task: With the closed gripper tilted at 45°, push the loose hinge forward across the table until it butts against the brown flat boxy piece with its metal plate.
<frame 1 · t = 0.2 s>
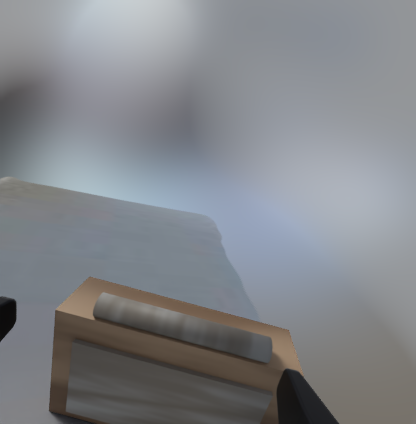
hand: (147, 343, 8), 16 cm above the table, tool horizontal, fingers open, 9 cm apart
brown flat boxy piece: (159, 411, 20), on the table
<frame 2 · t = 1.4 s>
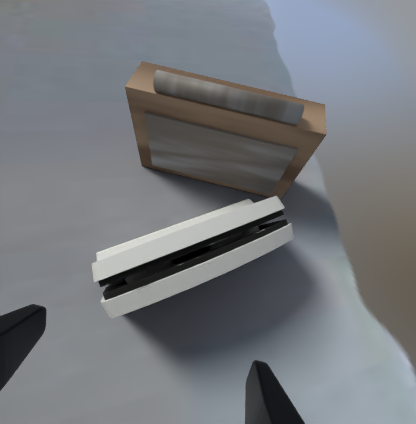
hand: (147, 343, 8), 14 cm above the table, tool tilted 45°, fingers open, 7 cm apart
brown flat boxy piece: (214, 170, 29), on the table
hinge: (192, 259, 23), on the table
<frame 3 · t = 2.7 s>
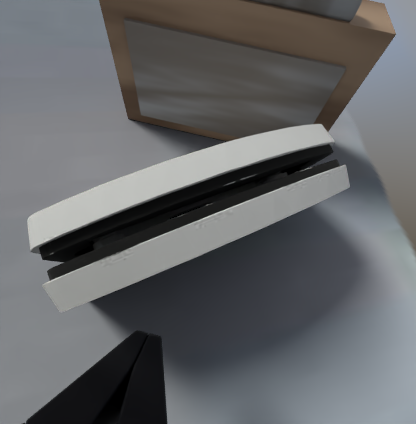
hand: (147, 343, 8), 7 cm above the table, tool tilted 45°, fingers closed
brown flat boxy piece: (221, 124, 22), on the table
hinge: (195, 232, 17), on the table
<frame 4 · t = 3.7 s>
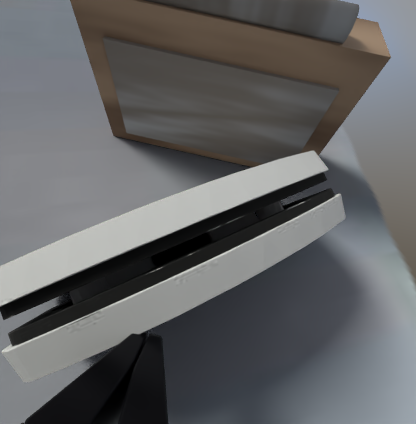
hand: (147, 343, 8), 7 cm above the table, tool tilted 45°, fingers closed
brown flat boxy piece: (211, 141, 22), on the table
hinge: (184, 258, 16), on the table, touching gripper
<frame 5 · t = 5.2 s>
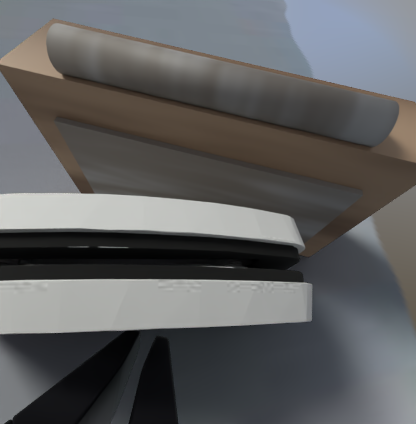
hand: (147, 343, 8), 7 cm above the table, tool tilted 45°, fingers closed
brown flat boxy piece: (202, 207, 18), on the table
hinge: (133, 303, 14), point 1 cm above the table, touching gripper
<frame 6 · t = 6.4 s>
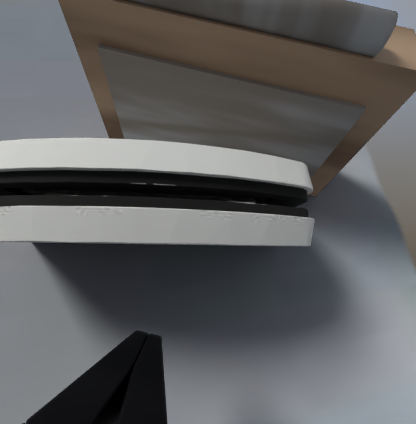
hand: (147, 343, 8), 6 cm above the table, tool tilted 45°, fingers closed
brown flat boxy piece: (218, 153, 20), on the table
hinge: (161, 230, 17), on the table
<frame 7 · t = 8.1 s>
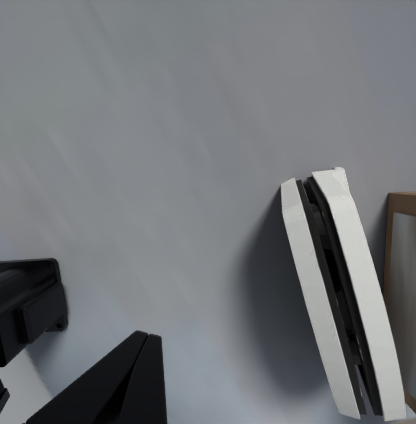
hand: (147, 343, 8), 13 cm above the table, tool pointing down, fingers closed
brown flat boxy piece: (405, 286, 21), on the table
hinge: (316, 266, 21), on the table
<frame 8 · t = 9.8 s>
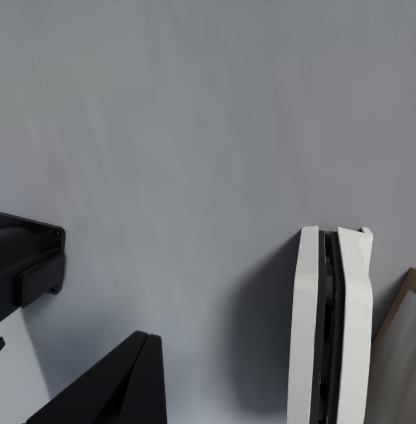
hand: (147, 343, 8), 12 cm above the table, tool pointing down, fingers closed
brown flat boxy piece: (390, 356, 21), on the table
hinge: (309, 313, 21), on the table
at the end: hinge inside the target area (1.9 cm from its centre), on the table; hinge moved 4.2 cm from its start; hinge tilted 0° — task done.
